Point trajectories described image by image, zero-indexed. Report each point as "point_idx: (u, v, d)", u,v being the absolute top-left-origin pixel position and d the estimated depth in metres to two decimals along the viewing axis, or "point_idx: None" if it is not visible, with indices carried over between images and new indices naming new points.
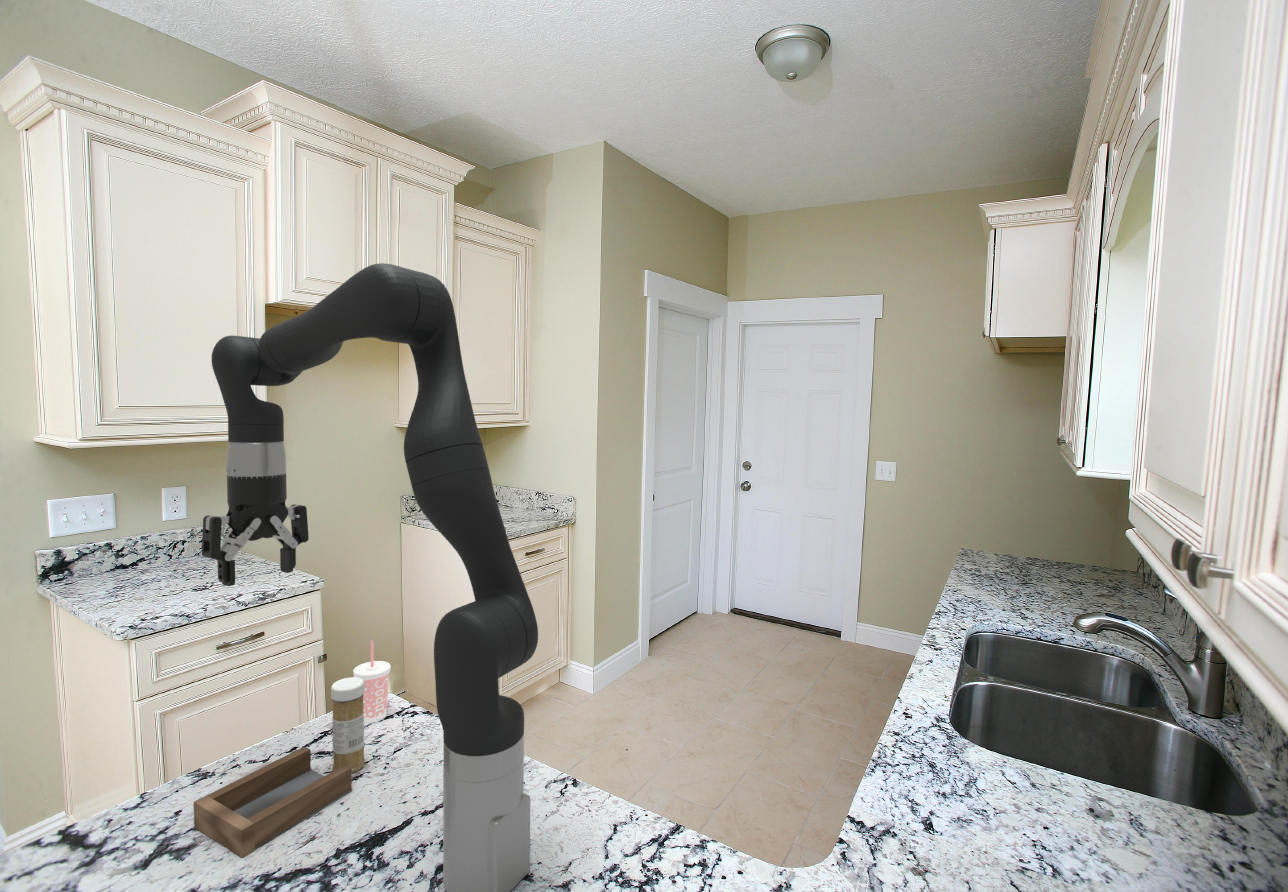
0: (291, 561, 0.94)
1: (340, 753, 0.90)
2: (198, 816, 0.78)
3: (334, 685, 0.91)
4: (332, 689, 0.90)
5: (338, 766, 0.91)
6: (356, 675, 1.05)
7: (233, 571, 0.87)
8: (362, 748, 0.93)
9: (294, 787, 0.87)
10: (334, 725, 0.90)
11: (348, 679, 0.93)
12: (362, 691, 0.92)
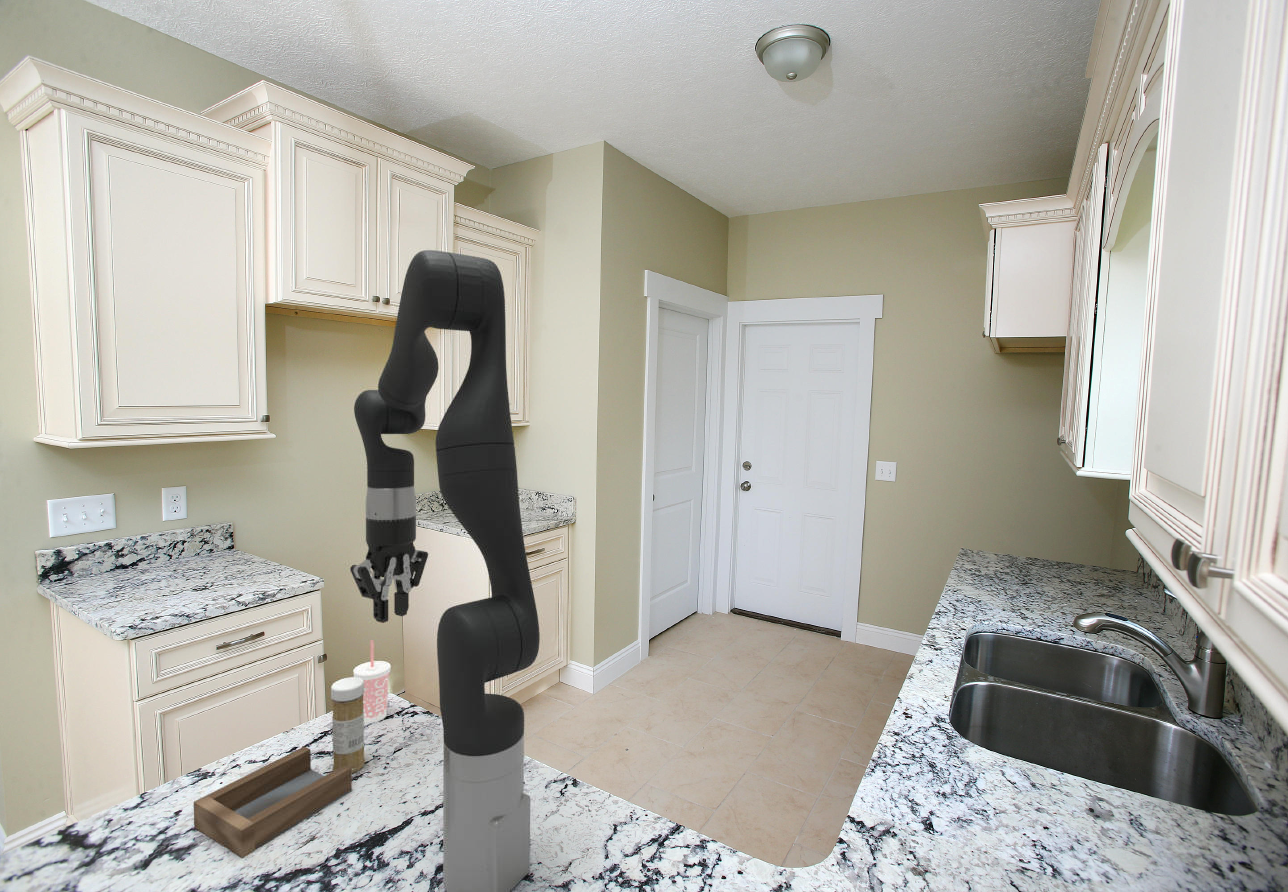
0: (405, 605, 1.00)
1: (340, 753, 0.90)
2: (198, 816, 0.78)
3: (334, 685, 0.91)
4: (332, 689, 0.90)
5: (338, 766, 0.91)
6: (356, 675, 1.05)
7: (387, 609, 0.96)
8: (362, 748, 0.93)
9: (294, 787, 0.87)
10: (334, 725, 0.90)
11: (348, 679, 0.93)
12: (362, 691, 0.92)
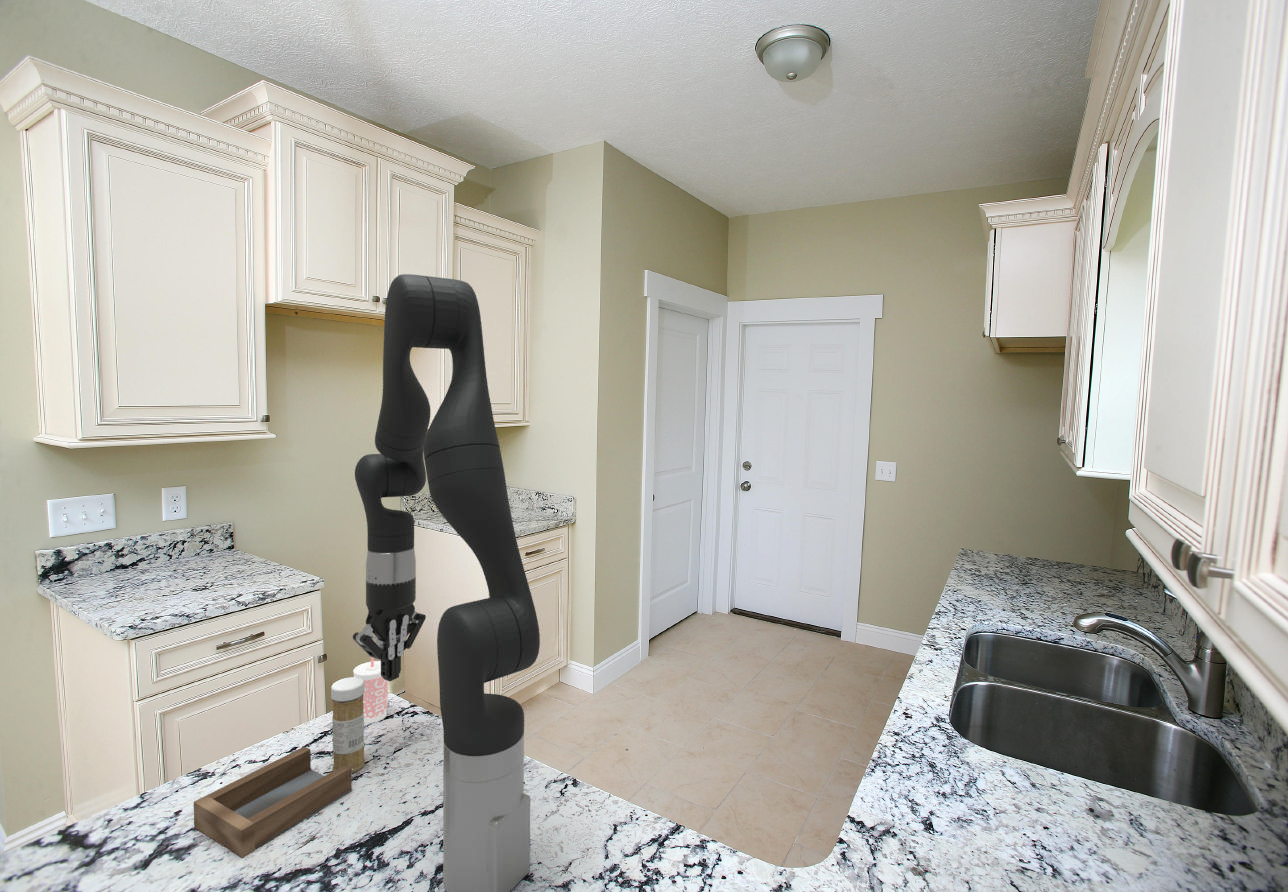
0: (397, 668, 0.99)
1: (340, 753, 0.90)
2: (198, 816, 0.78)
3: (334, 685, 0.91)
4: (332, 689, 0.90)
5: (338, 766, 0.91)
6: (356, 675, 1.05)
7: (394, 668, 0.98)
8: (362, 748, 0.93)
9: (294, 787, 0.87)
10: (334, 725, 0.90)
11: (348, 679, 0.93)
12: (362, 691, 0.92)
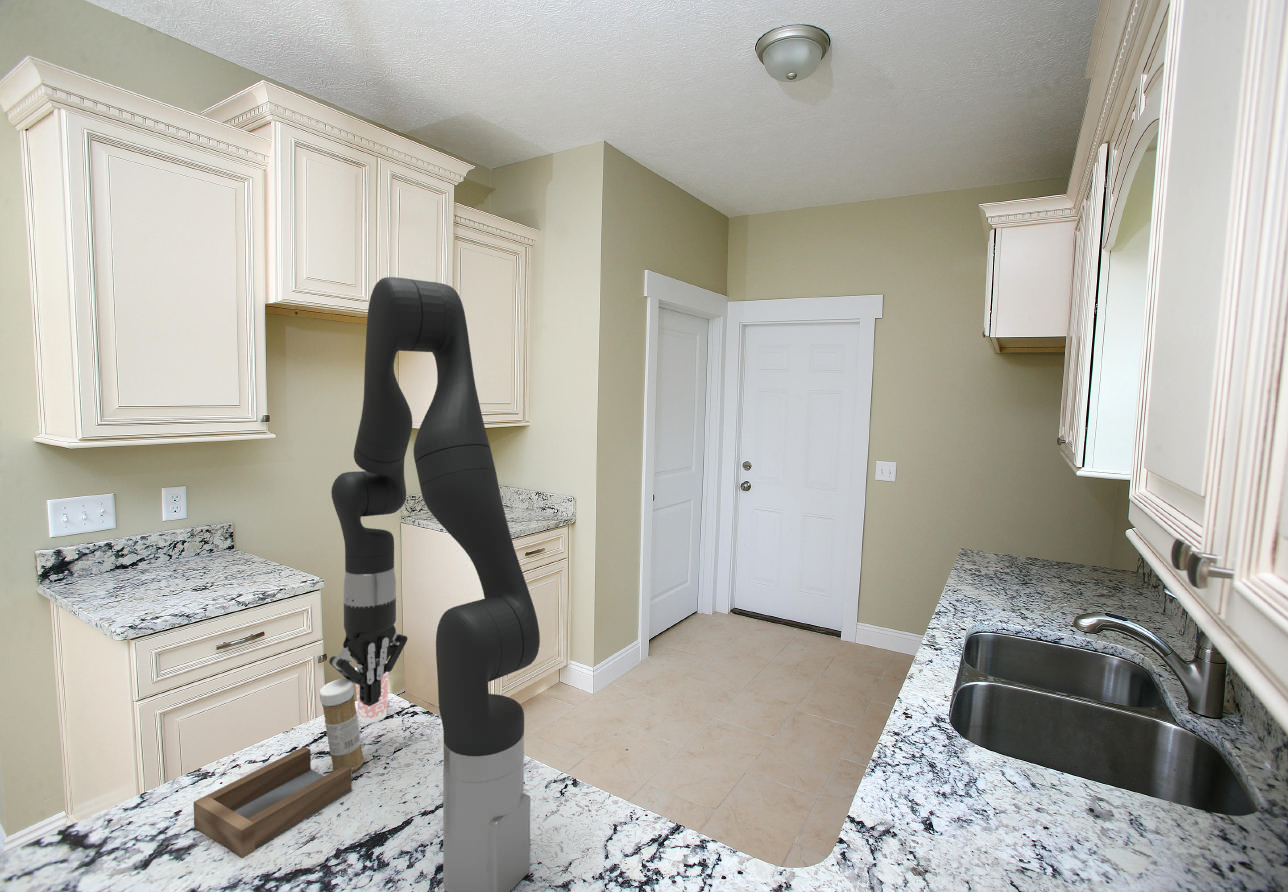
0: (377, 692, 0.96)
1: (337, 755, 0.90)
2: (198, 816, 0.78)
3: (322, 690, 0.89)
4: (320, 694, 0.89)
5: (337, 767, 0.90)
6: None
7: (373, 692, 0.95)
8: (359, 746, 0.92)
9: (294, 787, 0.87)
10: (328, 729, 0.90)
11: (336, 682, 0.91)
12: (351, 693, 0.91)
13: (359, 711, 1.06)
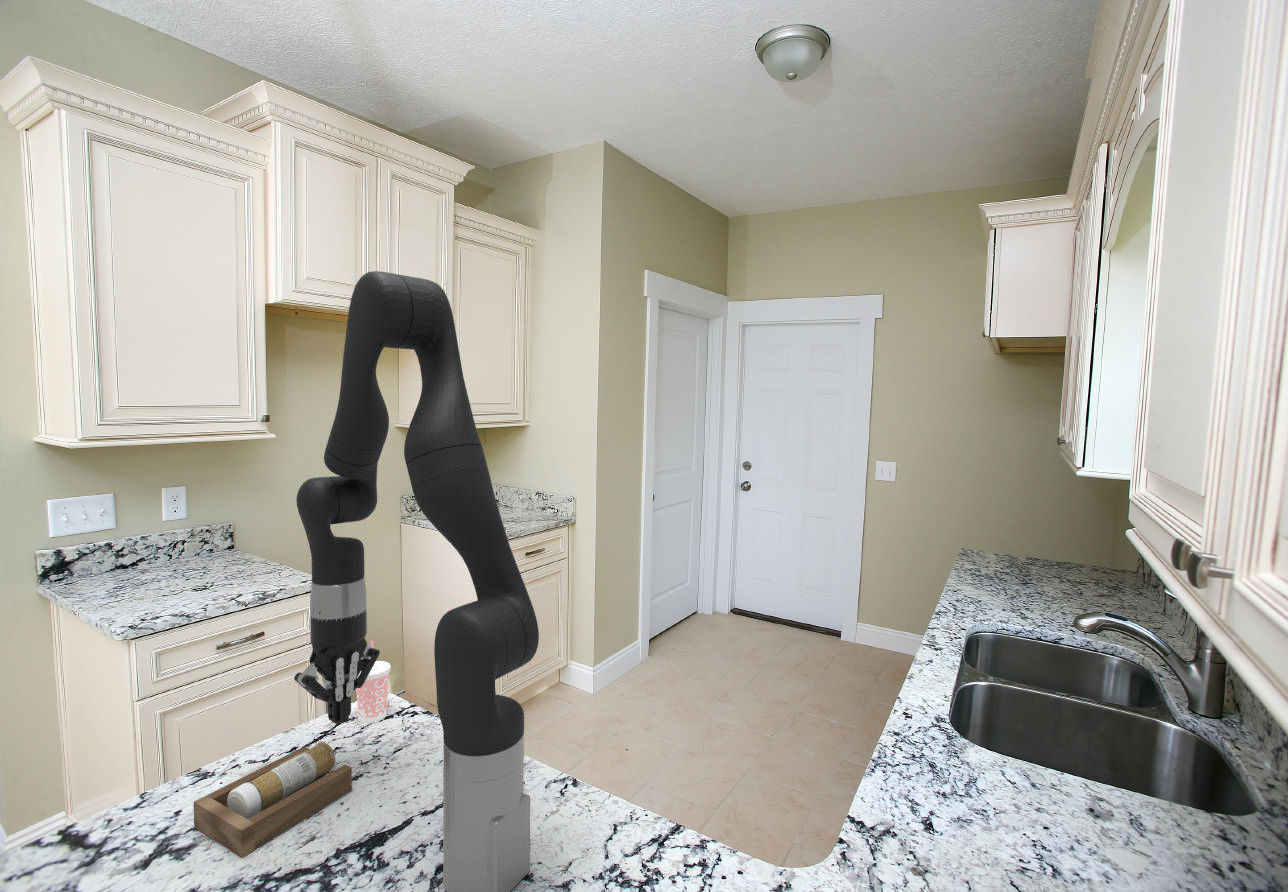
0: (347, 710, 0.91)
1: (315, 774, 0.87)
2: (198, 816, 0.78)
3: None
4: None
5: (327, 768, 0.89)
6: None
7: (342, 710, 0.90)
8: (309, 752, 0.88)
9: None
10: (287, 795, 0.84)
11: (231, 807, 0.80)
12: (248, 785, 0.80)
13: (359, 711, 1.06)
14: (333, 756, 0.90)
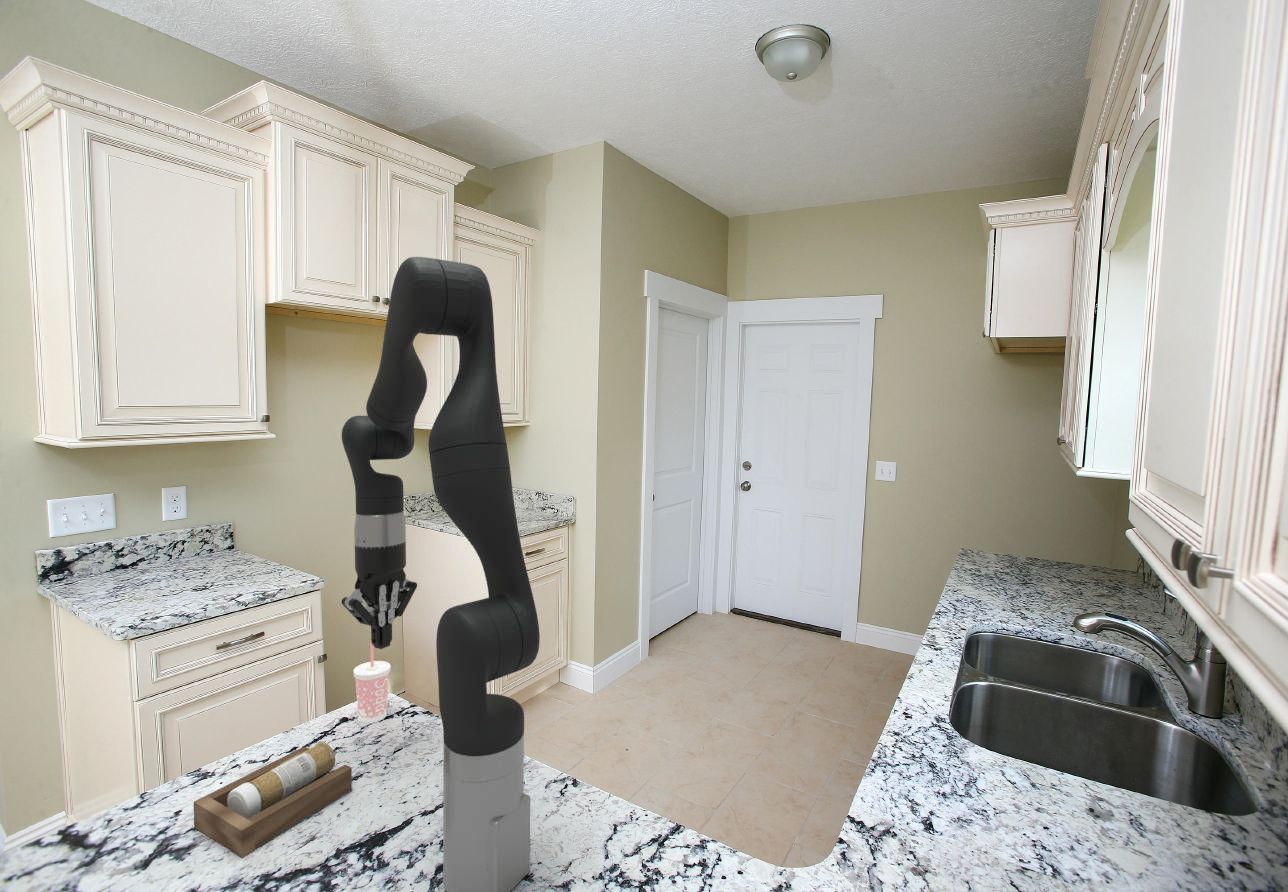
0: (388, 636, 0.97)
1: (315, 774, 0.87)
2: (198, 816, 0.78)
3: None
4: None
5: (327, 768, 0.89)
6: (356, 675, 1.05)
7: (385, 635, 0.96)
8: (309, 752, 0.88)
9: None
10: (287, 795, 0.84)
11: (231, 807, 0.80)
12: (248, 785, 0.80)
13: (359, 711, 1.06)
14: (333, 756, 0.90)
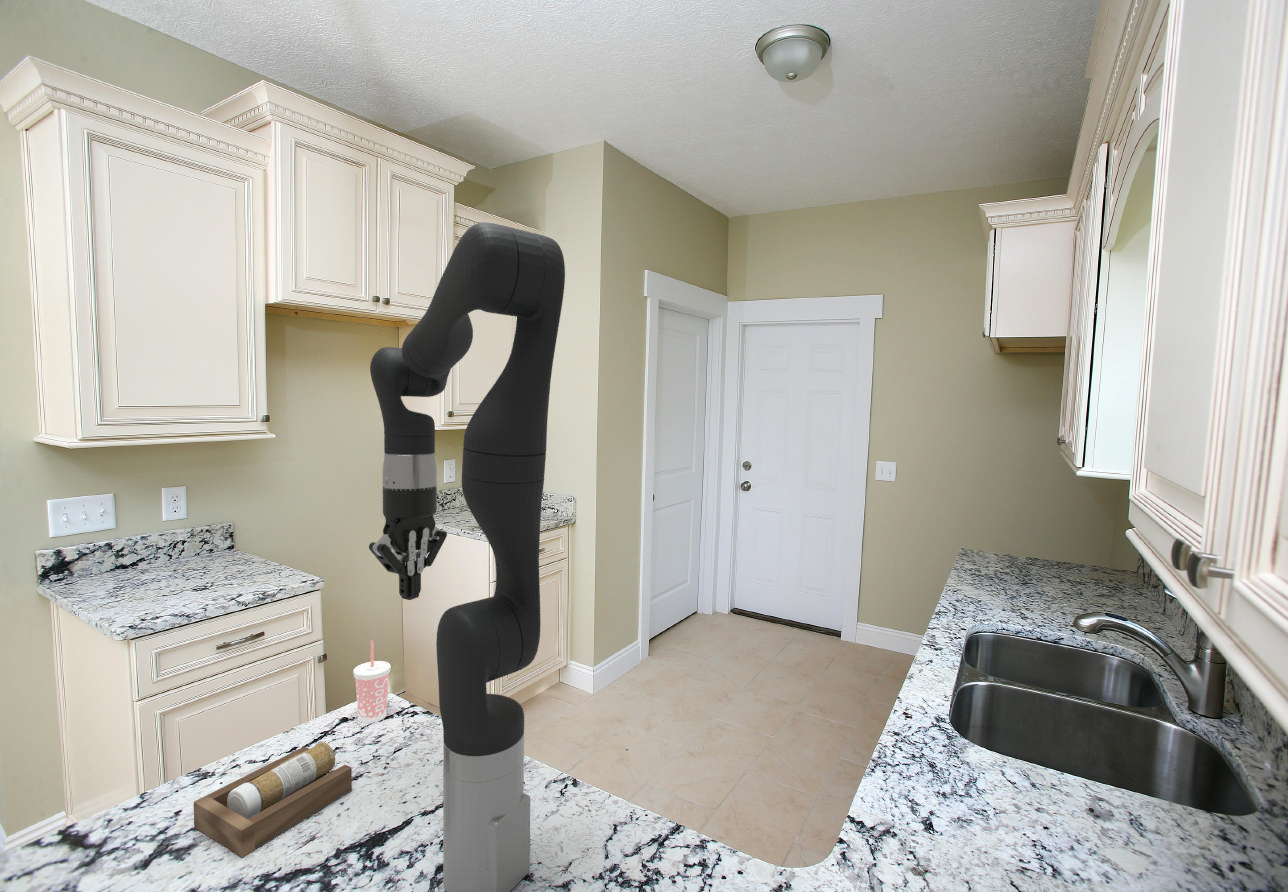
0: (417, 586, 0.90)
1: (315, 774, 0.87)
2: (198, 816, 0.78)
3: None
4: None
5: (327, 768, 0.89)
6: (356, 675, 1.05)
7: (413, 585, 0.90)
8: (309, 752, 0.88)
9: None
10: (287, 795, 0.84)
11: (231, 807, 0.80)
12: (248, 785, 0.80)
13: (359, 711, 1.06)
14: (333, 756, 0.90)
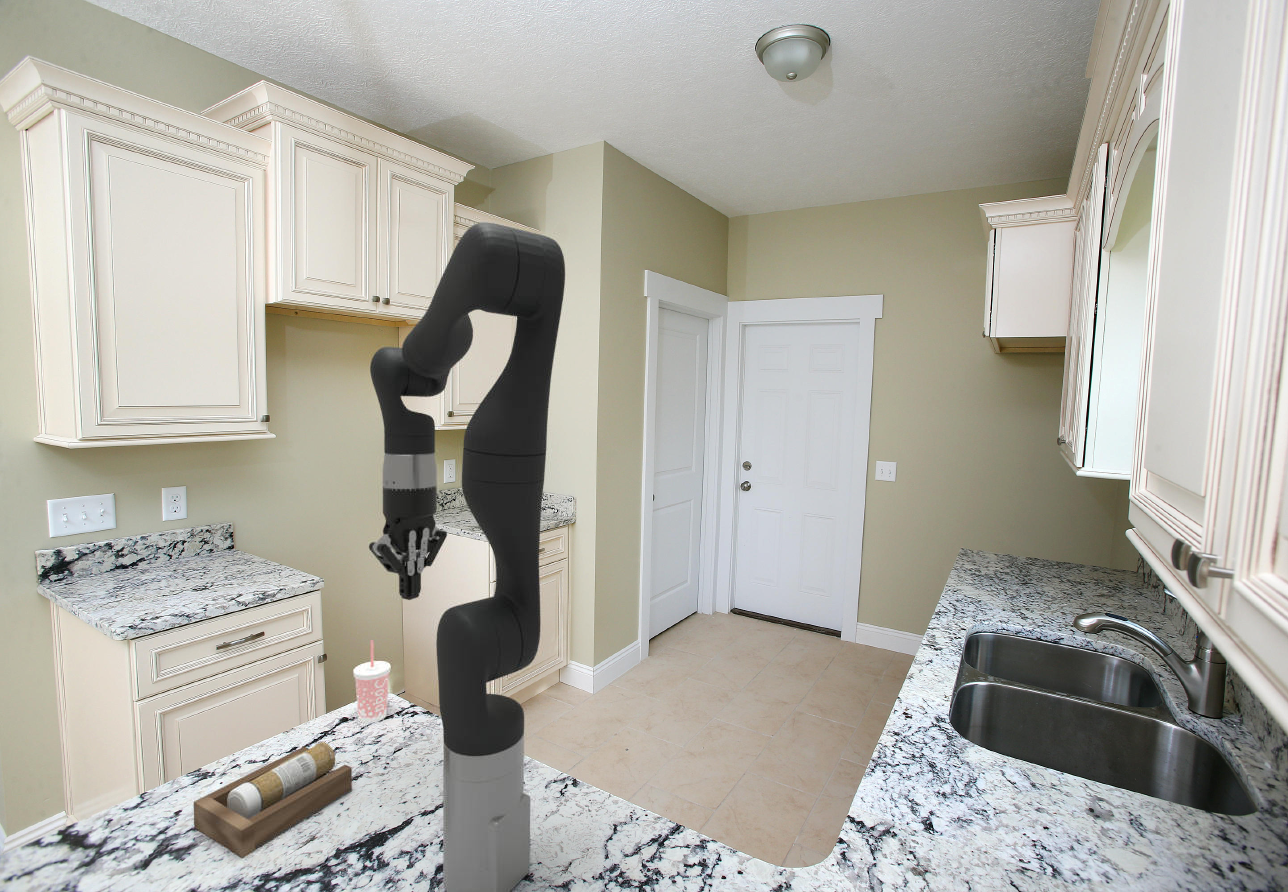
0: (417, 586, 0.90)
1: (315, 774, 0.87)
2: (198, 816, 0.78)
3: None
4: None
5: (327, 768, 0.89)
6: (356, 675, 1.05)
7: (413, 585, 0.90)
8: (309, 752, 0.88)
9: None
10: (287, 795, 0.84)
11: (231, 807, 0.80)
12: (248, 785, 0.80)
13: (359, 711, 1.06)
14: (333, 756, 0.90)
